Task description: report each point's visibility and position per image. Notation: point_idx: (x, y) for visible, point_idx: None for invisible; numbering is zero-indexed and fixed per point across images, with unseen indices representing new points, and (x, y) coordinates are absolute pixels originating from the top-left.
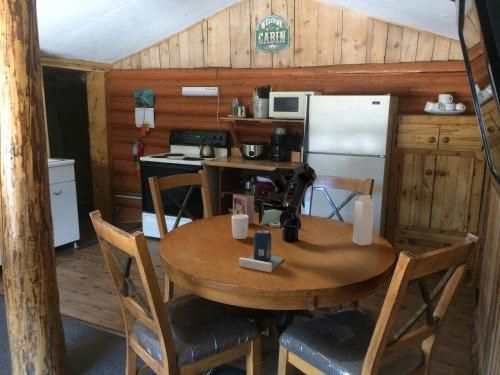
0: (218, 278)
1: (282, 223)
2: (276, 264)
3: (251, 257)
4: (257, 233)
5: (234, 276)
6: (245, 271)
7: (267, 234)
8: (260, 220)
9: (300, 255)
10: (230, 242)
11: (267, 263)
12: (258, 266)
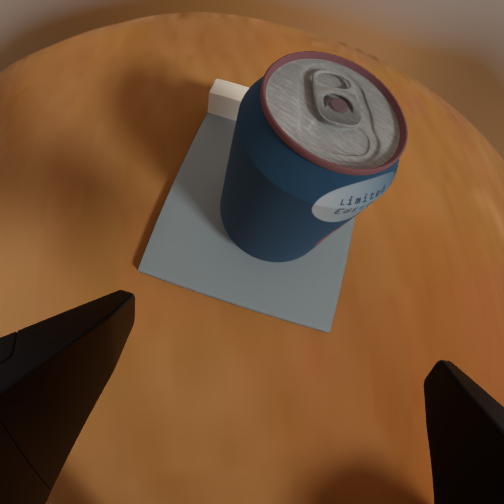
0: (382, 70)
1: (77, 313)
2: (184, 166)
3: (335, 251)
4: (366, 77)
5: None
6: None
7: (276, 67)
8: (456, 382)
9: None
10: None
11: (232, 87)
12: None
